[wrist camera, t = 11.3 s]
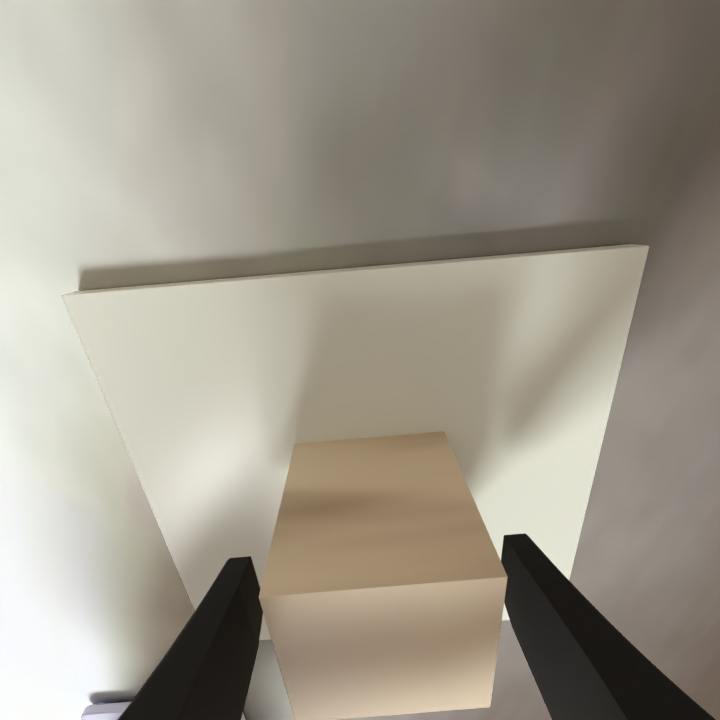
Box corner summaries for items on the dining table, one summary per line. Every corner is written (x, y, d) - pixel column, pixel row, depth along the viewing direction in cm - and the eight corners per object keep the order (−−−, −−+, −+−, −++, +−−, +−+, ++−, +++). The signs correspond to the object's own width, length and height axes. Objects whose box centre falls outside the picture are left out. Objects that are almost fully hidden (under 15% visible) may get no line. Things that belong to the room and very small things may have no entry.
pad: (553, 601, 16) (560, 615, 16) (213, 629, 16) (208, 644, 16) (632, 243, 10) (649, 245, 9) (77, 291, 10) (61, 295, 9)
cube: (441, 538, 13) (489, 707, 9) (313, 548, 13) (295, 722, 9) (444, 431, 12) (507, 576, 7) (294, 443, 12) (258, 597, 7)
